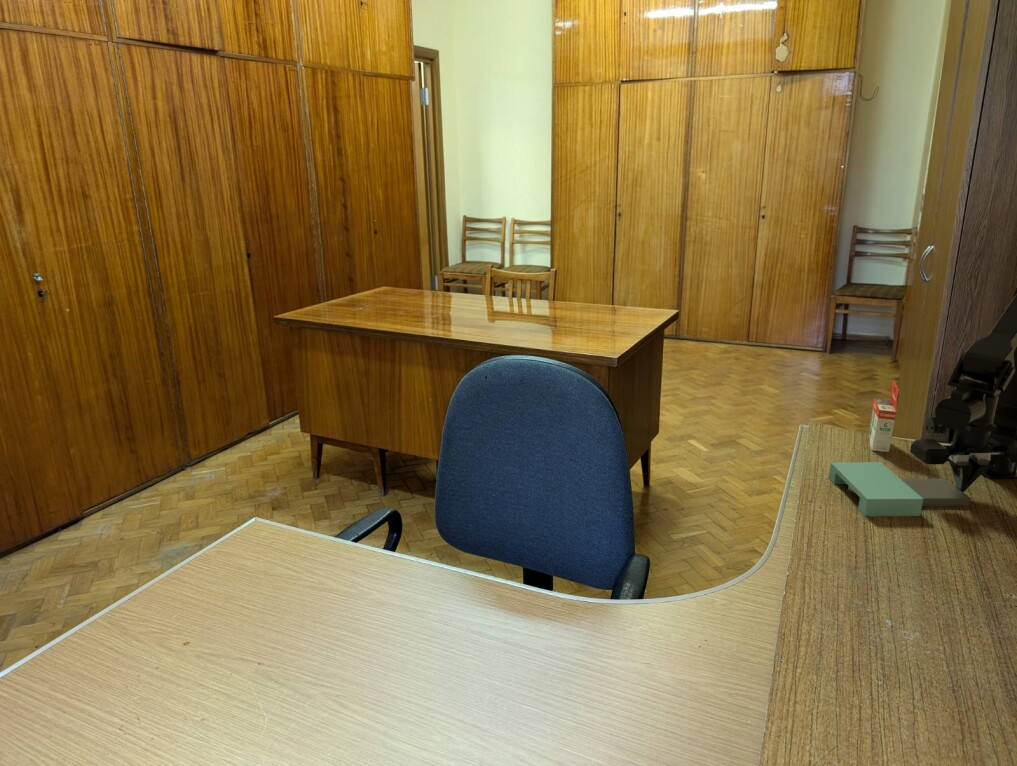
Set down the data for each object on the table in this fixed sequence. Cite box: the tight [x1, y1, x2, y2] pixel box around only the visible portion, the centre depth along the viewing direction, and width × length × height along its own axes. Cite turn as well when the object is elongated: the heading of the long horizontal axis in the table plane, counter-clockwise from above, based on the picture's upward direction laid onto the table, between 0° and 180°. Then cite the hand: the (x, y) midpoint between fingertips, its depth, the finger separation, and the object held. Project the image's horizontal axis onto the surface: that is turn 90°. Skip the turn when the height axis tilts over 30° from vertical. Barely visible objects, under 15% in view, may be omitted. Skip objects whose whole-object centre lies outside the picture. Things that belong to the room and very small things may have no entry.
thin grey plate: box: [900, 478, 972, 507], centre depth 132 cm, size 11×8×2 cm
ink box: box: [867, 379, 901, 453], centre depth 152 cm, size 4×8×15 cm, turn 160°
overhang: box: [828, 461, 923, 517], centre depth 131 cm, size 10×15×4 cm, turn 179°
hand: (960, 491), depth 131 cm, fingers closed
